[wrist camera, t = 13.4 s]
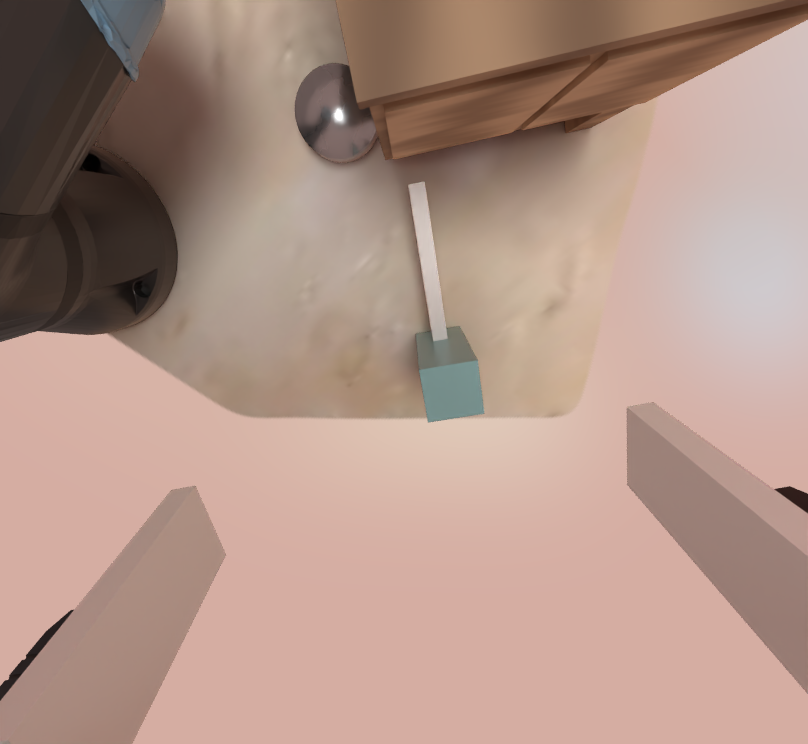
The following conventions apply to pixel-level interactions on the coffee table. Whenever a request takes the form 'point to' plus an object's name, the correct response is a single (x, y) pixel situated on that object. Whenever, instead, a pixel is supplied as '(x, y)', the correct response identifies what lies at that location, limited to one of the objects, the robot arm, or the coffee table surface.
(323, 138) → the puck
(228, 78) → the coffee table surface
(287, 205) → the coffee table surface
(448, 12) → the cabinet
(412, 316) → the coffee table surface
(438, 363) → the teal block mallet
